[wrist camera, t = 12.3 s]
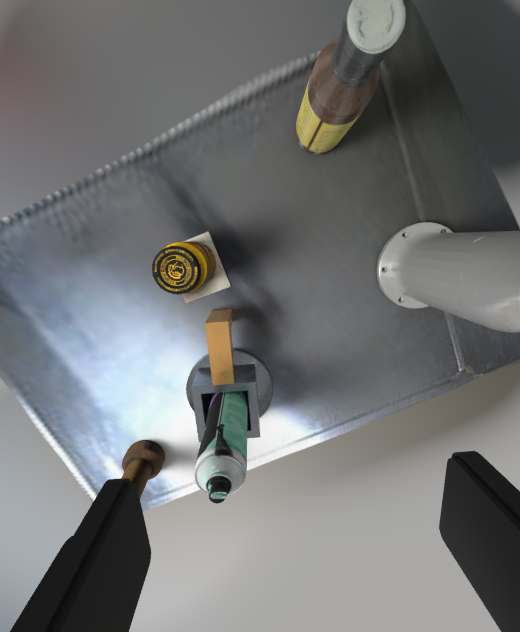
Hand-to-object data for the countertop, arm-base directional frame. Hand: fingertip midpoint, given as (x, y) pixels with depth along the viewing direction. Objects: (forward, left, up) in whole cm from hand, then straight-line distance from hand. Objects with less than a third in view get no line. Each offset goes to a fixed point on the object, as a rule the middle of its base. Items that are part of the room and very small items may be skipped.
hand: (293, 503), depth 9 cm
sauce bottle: (-9, -21, -36) cm, 43 cm away
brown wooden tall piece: (+22, +28, -36) cm, 51 cm away
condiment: (+9, -4, -37) cm, 38 cm away
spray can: (+6, +16, -36) cm, 39 cm away
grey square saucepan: (+6, +13, -36) cm, 39 cm away
